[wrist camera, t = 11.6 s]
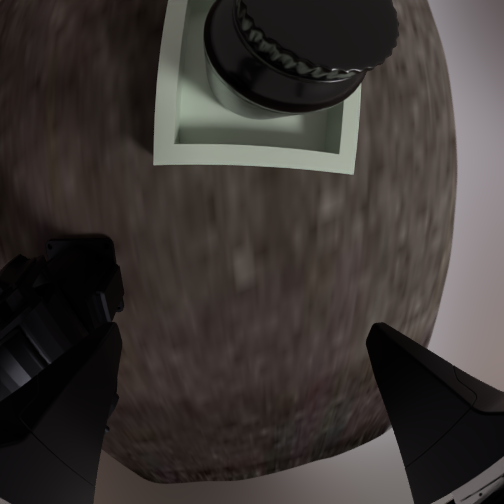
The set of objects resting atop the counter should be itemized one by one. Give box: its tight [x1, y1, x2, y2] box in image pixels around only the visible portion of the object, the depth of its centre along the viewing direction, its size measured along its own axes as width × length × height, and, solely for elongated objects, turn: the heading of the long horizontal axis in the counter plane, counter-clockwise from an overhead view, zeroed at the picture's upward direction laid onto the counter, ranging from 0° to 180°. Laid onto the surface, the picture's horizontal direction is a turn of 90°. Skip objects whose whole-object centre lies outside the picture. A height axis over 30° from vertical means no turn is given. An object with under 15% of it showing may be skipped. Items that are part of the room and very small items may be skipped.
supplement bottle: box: [203, 0, 399, 120], centre depth 10 cm, size 7×7×12 cm
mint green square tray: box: [154, 0, 361, 175], centre depth 14 cm, size 12×12×3 cm
